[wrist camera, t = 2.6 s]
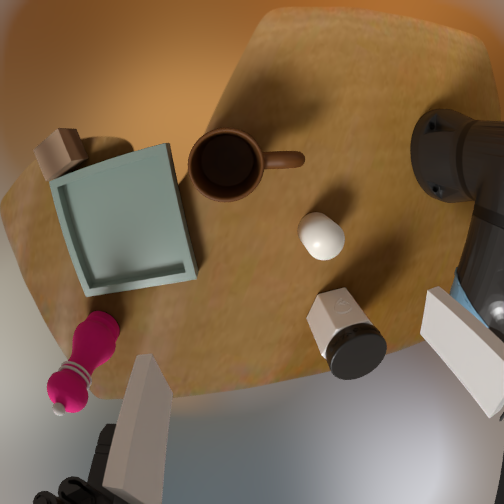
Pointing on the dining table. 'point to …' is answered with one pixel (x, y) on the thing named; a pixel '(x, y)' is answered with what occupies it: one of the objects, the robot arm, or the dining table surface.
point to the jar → (345, 335)
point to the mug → (233, 164)
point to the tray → (125, 222)
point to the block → (60, 153)
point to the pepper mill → (83, 362)
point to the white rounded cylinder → (321, 236)
